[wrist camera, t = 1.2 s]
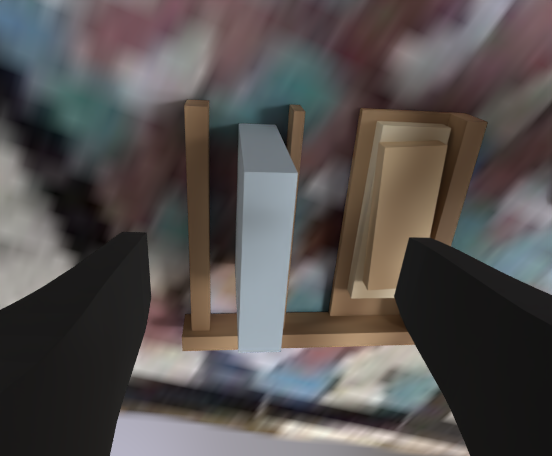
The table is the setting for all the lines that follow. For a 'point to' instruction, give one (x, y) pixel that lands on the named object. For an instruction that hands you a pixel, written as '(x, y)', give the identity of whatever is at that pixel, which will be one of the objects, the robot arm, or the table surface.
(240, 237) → the block
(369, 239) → the offcut oak
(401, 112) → the rack
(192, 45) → the table surface
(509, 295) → the robot arm
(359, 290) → the offcut birch
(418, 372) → the table surface
